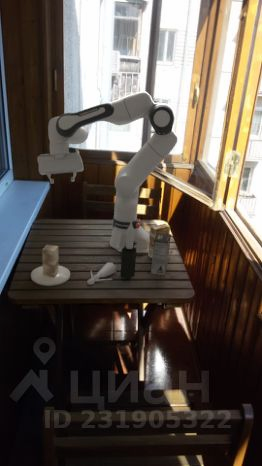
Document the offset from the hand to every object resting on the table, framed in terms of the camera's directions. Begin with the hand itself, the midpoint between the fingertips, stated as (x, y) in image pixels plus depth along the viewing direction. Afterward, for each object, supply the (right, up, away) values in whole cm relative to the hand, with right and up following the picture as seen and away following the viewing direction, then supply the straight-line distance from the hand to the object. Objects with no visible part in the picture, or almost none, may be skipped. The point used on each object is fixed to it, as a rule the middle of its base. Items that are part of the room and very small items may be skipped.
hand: (62, 182), depth 176 cm
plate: (-2, -41, -14) cm, 43 cm away
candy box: (+44, -34, +10) cm, 57 cm away
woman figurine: (+19, -42, -12) cm, 47 cm away
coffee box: (+44, -40, -3) cm, 59 cm away
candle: (+30, -42, -9) cm, 52 cm away
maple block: (-2, -40, -15) cm, 43 cm away
